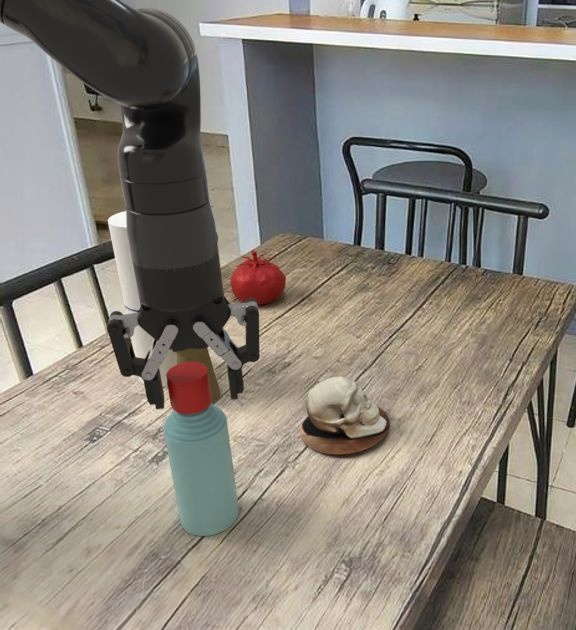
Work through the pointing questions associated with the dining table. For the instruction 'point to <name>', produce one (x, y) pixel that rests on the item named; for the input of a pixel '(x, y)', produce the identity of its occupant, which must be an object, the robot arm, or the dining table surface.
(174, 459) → the bottle
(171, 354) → the cylindrical container
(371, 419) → the skull
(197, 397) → the cap
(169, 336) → the robot arm
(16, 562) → the dining table surface
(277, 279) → the pomegranate
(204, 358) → the brown pawn
